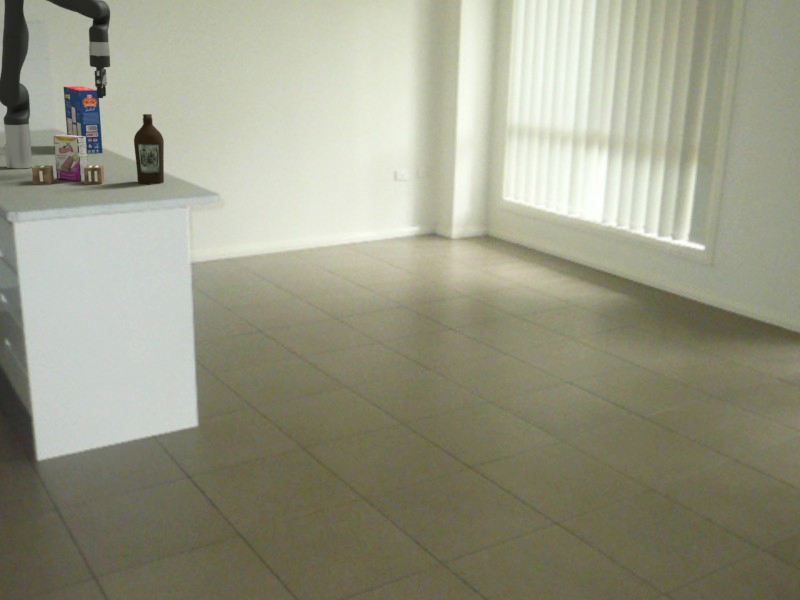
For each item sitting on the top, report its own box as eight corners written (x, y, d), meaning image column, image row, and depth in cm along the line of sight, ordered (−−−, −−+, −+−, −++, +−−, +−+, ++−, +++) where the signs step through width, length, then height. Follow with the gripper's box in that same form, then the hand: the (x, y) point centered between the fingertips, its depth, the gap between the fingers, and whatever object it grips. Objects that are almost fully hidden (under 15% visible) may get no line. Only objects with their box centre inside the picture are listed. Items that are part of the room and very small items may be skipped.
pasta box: (102, 153, 416) (98, 90, 408) (84, 154, 411) (80, 90, 403) (85, 146, 438) (80, 86, 430) (68, 146, 434) (63, 86, 426)
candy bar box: (56, 179, 342) (52, 135, 338) (64, 177, 347) (61, 134, 342) (81, 181, 339) (77, 137, 334) (89, 180, 343) (86, 135, 339)
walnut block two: (84, 184, 334) (83, 167, 332) (87, 181, 340) (86, 165, 338) (101, 184, 335) (100, 167, 333) (104, 181, 341) (103, 165, 339)
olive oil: (136, 180, 345) (133, 113, 338) (165, 179, 348) (162, 113, 341) (135, 184, 335) (131, 115, 328) (165, 184, 338) (162, 115, 331)
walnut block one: (33, 184, 331) (31, 167, 330) (37, 181, 337) (35, 165, 335) (50, 184, 332) (49, 167, 330) (54, 181, 338) (52, 165, 336)
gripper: (91, 53, 358) (94, 95, 363) (86, 54, 345) (89, 98, 349) (111, 54, 360) (113, 96, 364) (107, 55, 346) (109, 98, 351)
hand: (101, 97), depth 357 cm, fingers open, 8 cm apart
